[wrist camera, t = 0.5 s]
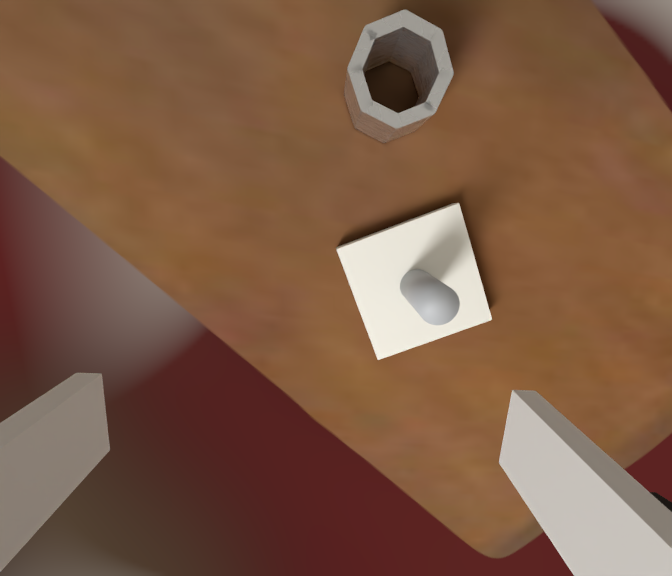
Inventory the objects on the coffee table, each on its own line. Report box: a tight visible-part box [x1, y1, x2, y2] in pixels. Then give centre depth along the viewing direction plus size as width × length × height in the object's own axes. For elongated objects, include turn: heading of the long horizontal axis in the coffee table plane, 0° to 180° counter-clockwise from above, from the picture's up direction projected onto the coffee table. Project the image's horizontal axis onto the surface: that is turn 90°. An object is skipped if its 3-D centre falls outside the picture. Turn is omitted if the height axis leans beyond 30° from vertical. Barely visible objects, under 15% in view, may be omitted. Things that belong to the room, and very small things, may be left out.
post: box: [336, 203, 492, 360], centre depth 31 cm, size 12×12×8 cm
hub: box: [344, 9, 454, 143], centre depth 28 cm, size 7×7×6 cm
